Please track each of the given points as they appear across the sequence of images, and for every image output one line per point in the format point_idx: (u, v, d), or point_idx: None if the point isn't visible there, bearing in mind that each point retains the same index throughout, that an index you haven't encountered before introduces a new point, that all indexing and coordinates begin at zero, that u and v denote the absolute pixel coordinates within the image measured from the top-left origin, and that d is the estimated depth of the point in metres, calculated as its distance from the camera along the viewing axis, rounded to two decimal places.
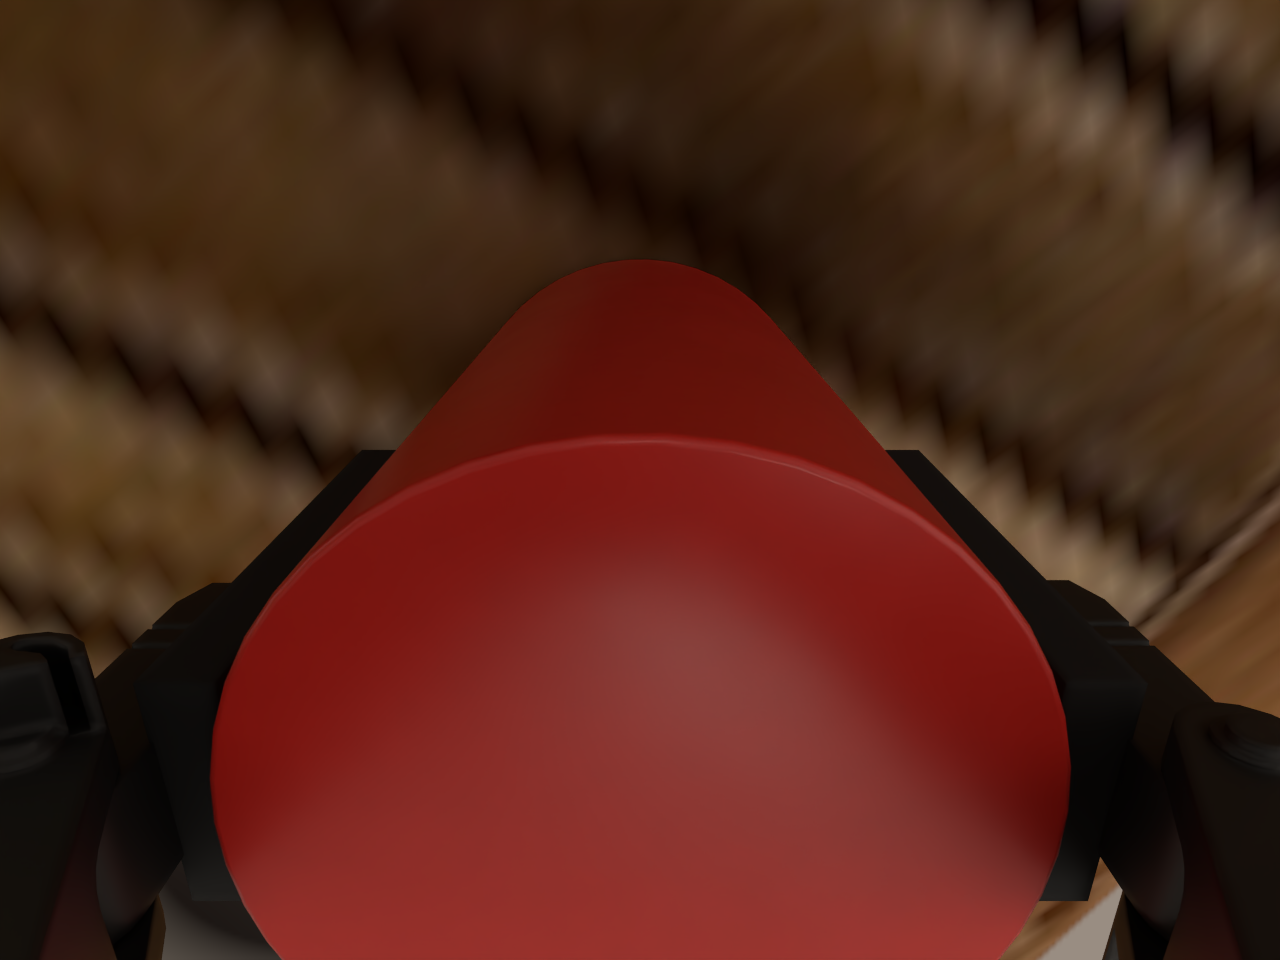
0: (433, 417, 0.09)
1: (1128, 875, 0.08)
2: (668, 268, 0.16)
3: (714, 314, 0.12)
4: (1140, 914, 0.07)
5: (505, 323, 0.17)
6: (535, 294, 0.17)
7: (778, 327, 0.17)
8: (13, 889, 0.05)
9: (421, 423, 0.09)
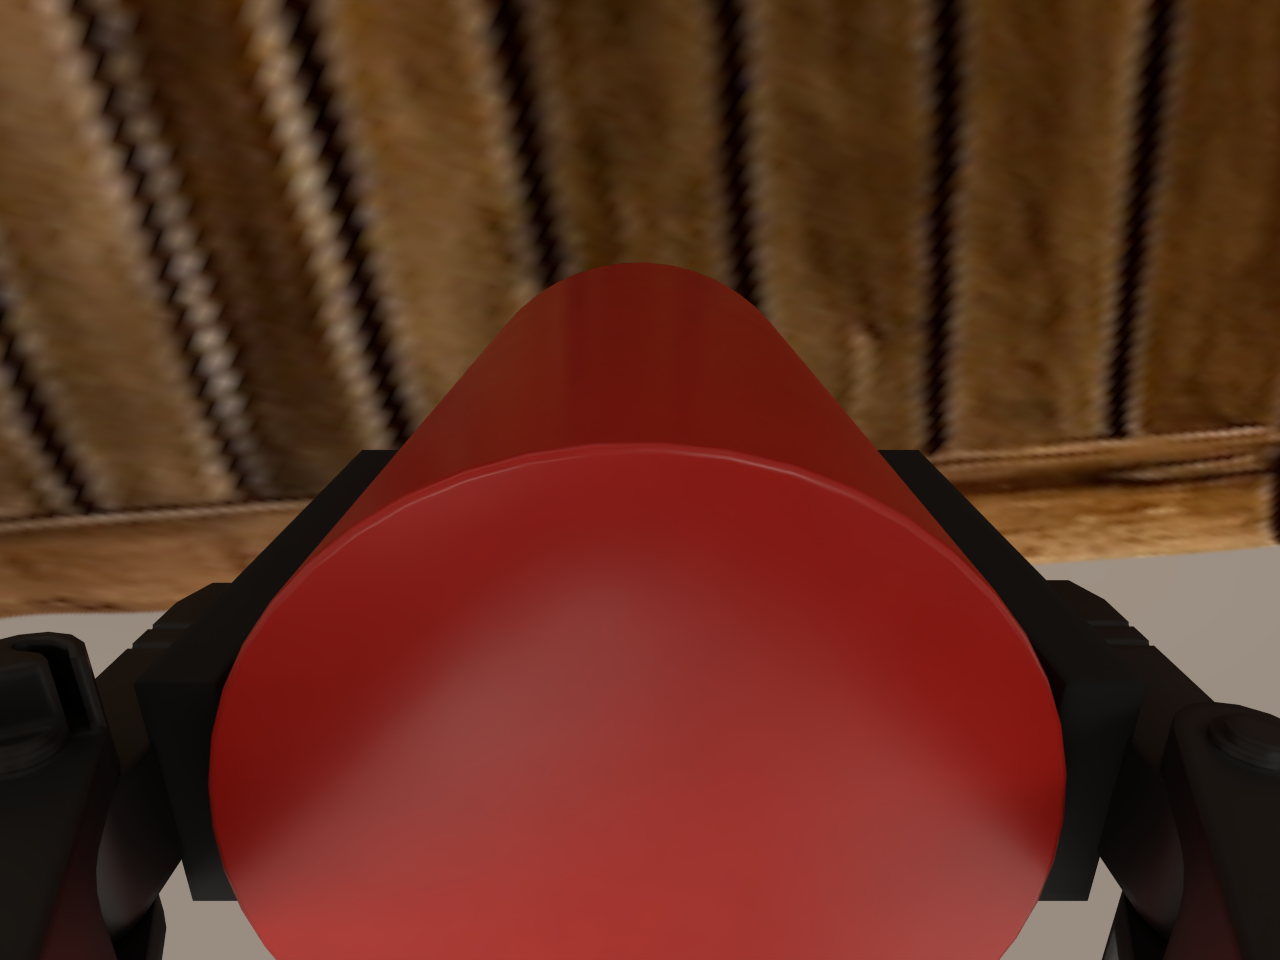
0: (432, 423, 0.09)
1: (1128, 875, 0.08)
2: (667, 272, 0.16)
3: (712, 319, 0.12)
4: (1140, 914, 0.07)
5: None
6: (534, 297, 0.17)
7: (777, 331, 0.17)
8: (14, 889, 0.05)
9: (420, 429, 0.09)
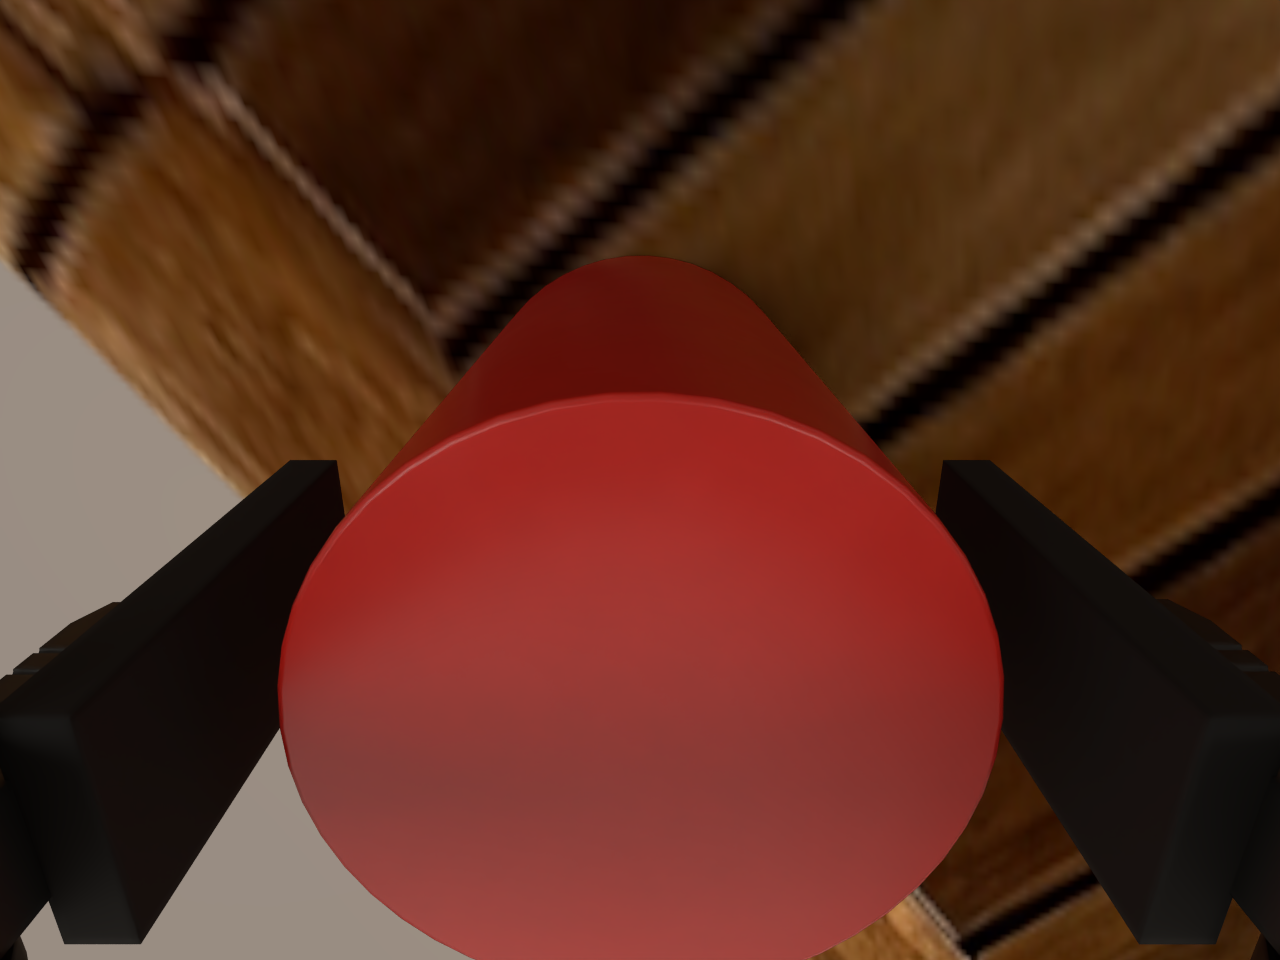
0: (460, 390, 0.10)
1: (1270, 915, 0.07)
2: (666, 263, 0.17)
3: (707, 303, 0.13)
4: None
5: None
6: (543, 288, 0.19)
7: (768, 318, 0.18)
8: None
9: (448, 396, 0.11)
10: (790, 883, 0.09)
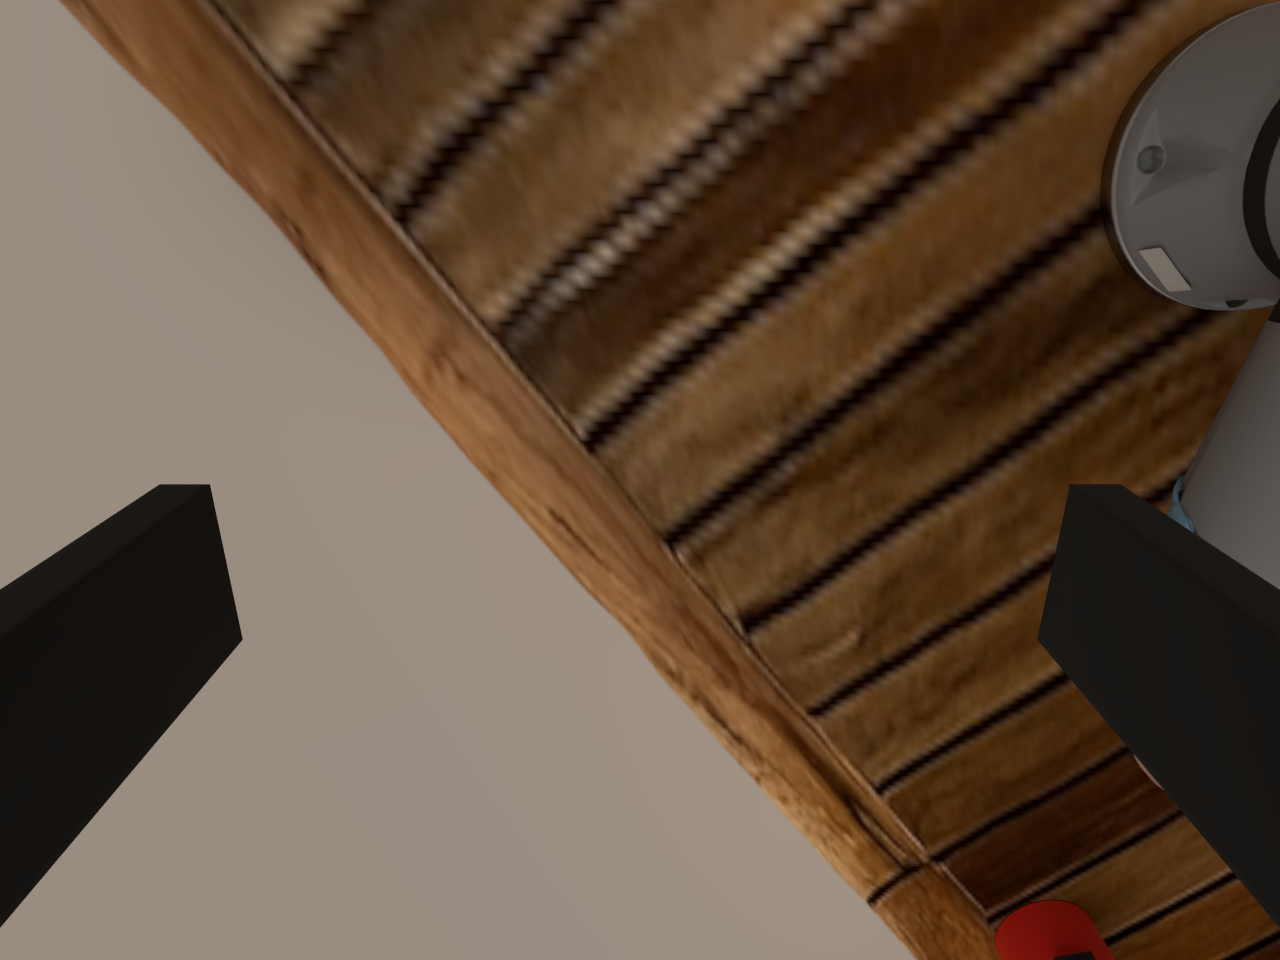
0: None
1: None
2: (1068, 915, 0.62)
3: None
4: None
5: (1013, 915, 0.64)
6: (1022, 908, 0.64)
7: (1092, 923, 0.63)
8: None
9: None
10: None
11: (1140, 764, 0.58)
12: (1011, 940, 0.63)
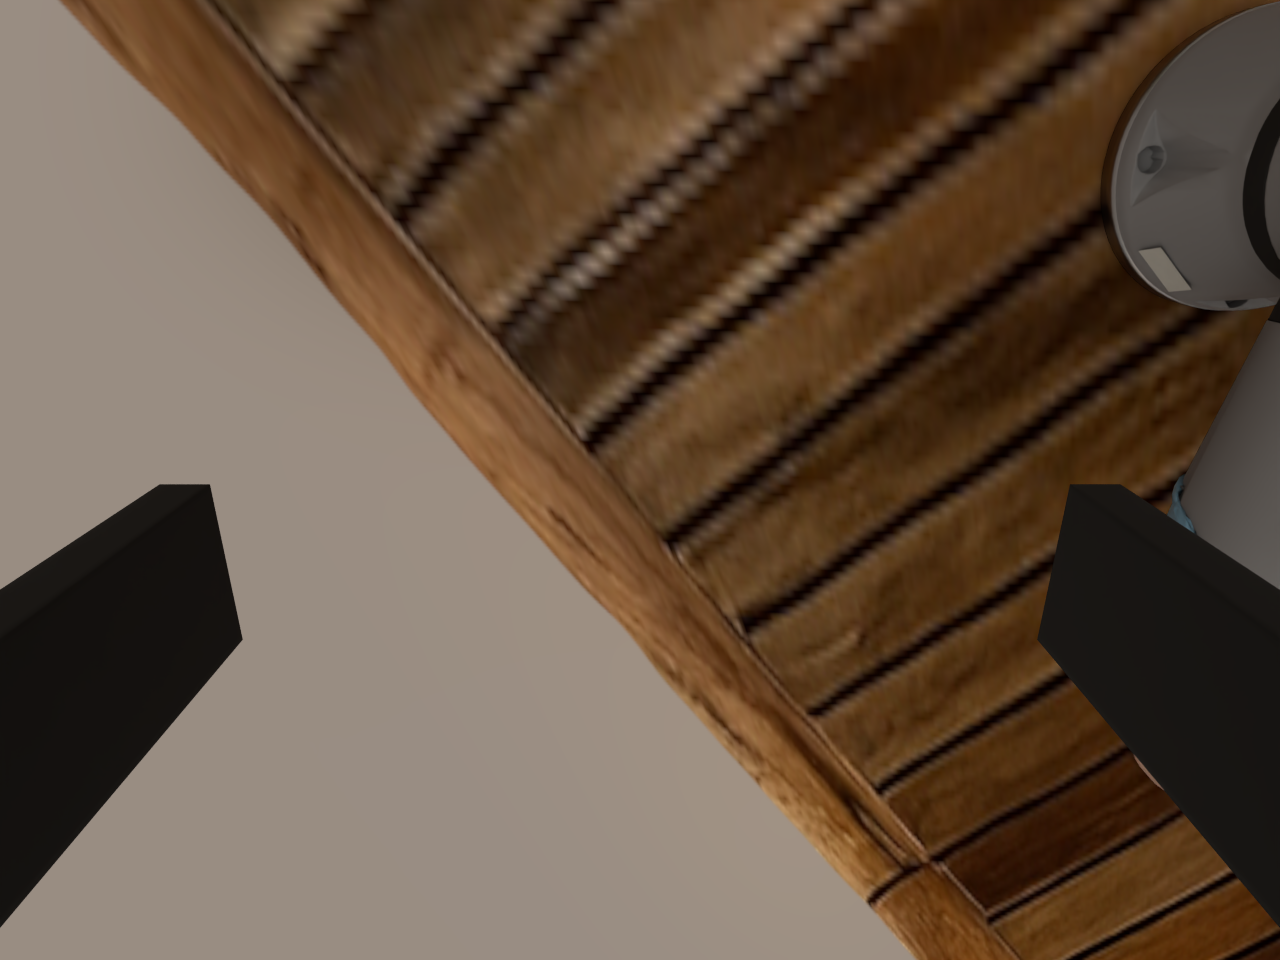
0: None
1: None
2: None
3: None
4: None
5: None
6: None
7: None
8: None
9: None
10: None
11: (1140, 764, 0.58)
12: None
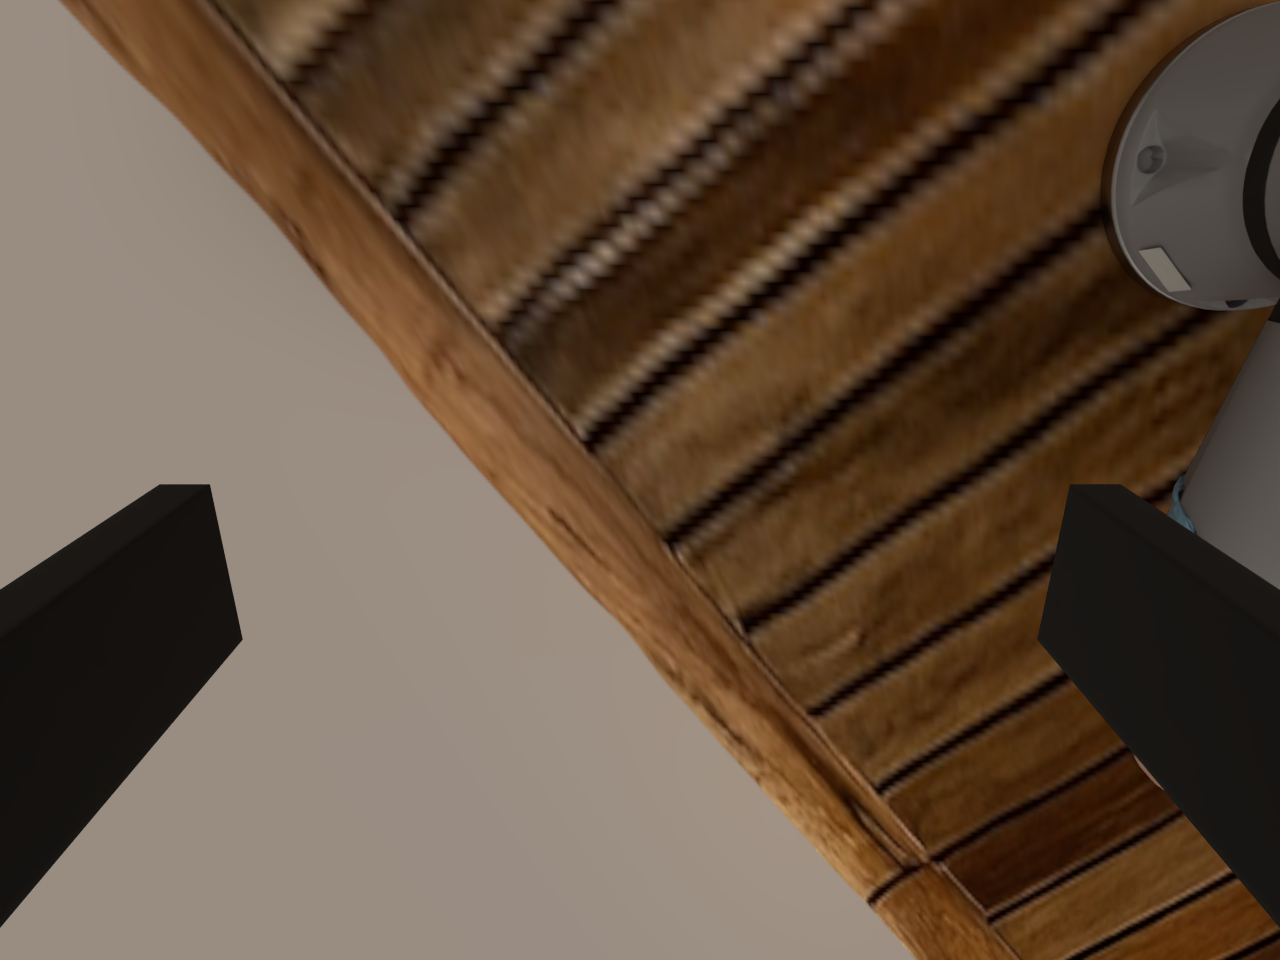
0: None
1: None
2: None
3: None
4: None
5: None
6: None
7: None
8: None
9: None
10: None
11: (1140, 764, 0.58)
12: None
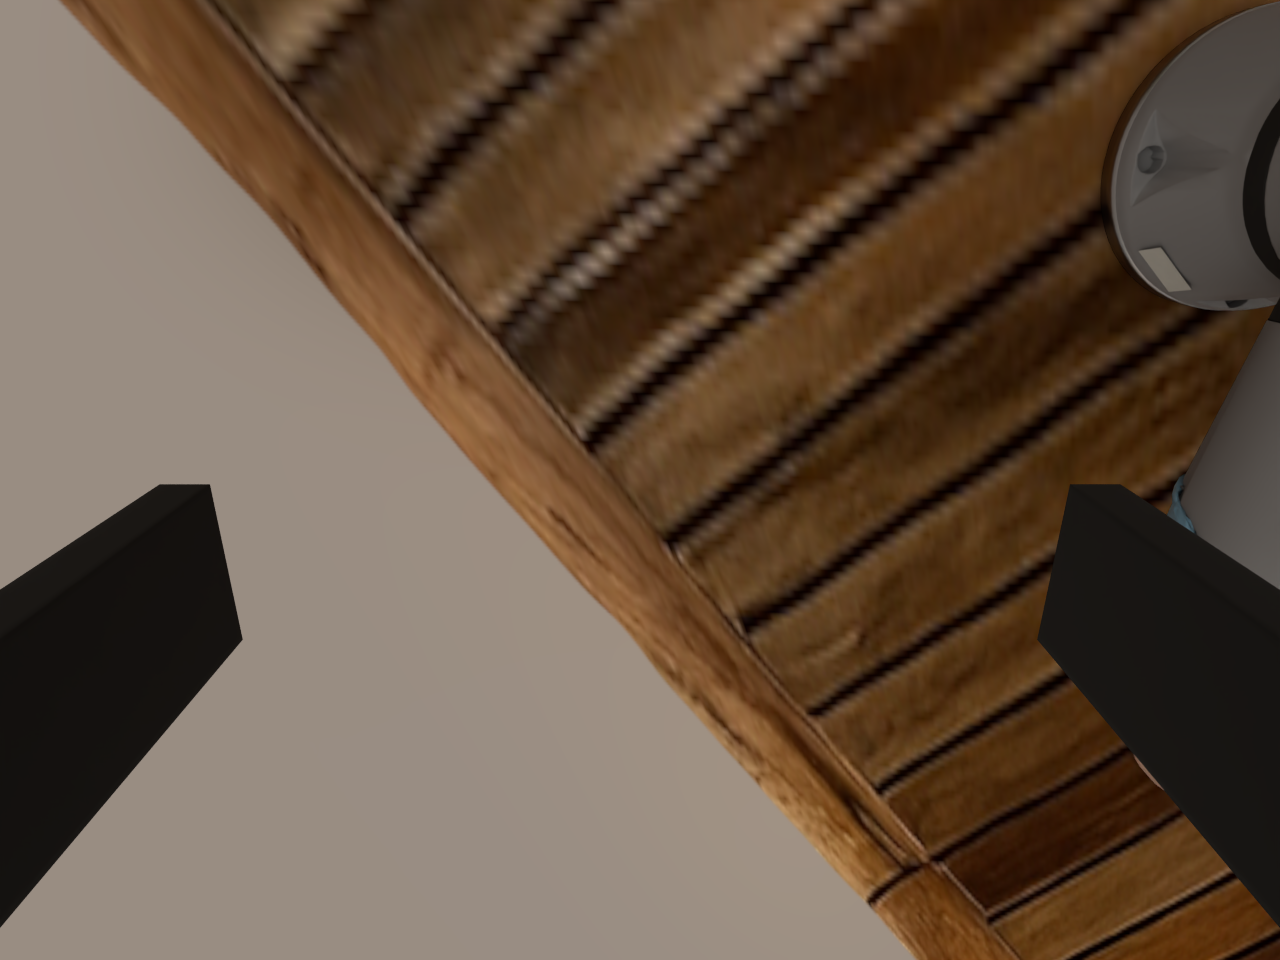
0: None
1: None
2: None
3: None
4: None
5: None
6: None
7: None
8: None
9: None
10: None
11: (1140, 764, 0.58)
12: None
